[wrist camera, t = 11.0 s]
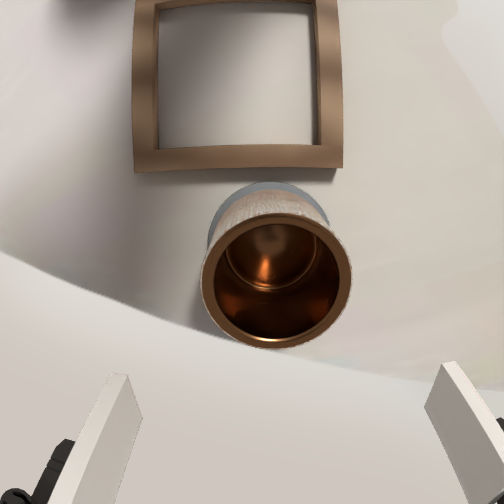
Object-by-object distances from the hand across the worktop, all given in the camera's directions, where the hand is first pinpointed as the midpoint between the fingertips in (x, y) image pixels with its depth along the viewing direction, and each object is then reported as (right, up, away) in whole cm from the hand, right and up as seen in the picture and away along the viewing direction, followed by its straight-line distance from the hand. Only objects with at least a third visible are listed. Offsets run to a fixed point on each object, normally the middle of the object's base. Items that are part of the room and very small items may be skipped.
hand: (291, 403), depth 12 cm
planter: (0, +7, +19) cm, 21 cm away
